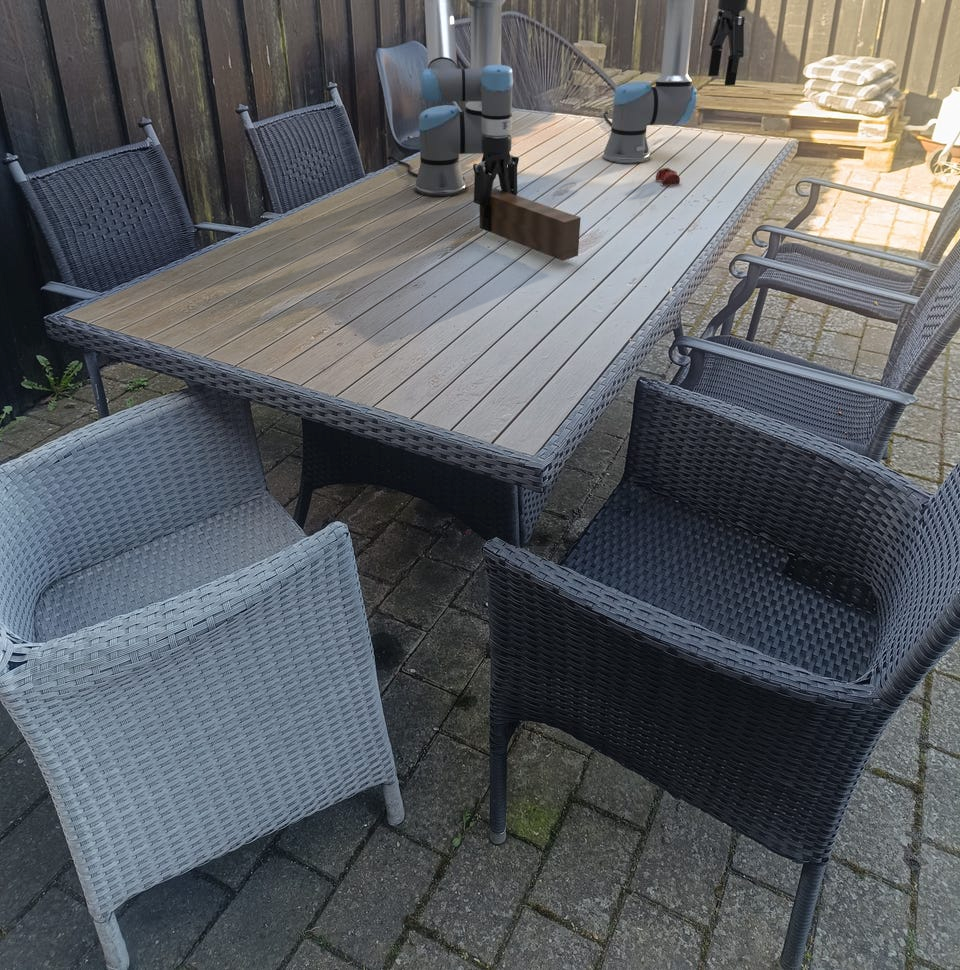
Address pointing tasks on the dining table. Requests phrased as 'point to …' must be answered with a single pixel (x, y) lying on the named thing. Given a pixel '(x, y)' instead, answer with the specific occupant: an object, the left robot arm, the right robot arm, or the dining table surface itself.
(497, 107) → the left robot arm
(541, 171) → the dining table surface
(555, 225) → the bar
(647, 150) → the right robot arm
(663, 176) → the dark red rounded lump
